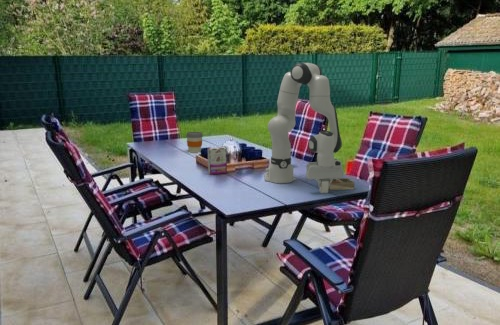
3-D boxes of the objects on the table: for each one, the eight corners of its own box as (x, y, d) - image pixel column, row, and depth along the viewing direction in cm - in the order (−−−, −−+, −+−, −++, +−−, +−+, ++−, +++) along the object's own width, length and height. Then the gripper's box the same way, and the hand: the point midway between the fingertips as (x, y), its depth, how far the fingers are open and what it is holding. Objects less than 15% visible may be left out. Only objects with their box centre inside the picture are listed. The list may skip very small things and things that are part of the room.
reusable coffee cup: (186, 150, 346) (186, 131, 343) (202, 150, 347) (202, 131, 344) (186, 153, 334) (185, 134, 330) (202, 153, 335) (202, 134, 332)
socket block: (324, 185, 249) (325, 178, 248) (347, 184, 252) (348, 177, 251) (330, 190, 241) (331, 182, 240) (354, 189, 243) (354, 181, 243)
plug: (319, 191, 239) (320, 177, 237) (325, 190, 239) (326, 176, 238) (321, 193, 235) (322, 178, 234) (328, 192, 236) (328, 178, 234)
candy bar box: (224, 171, 280) (224, 146, 276) (226, 173, 275) (226, 148, 271) (207, 173, 275) (207, 147, 272) (209, 175, 271) (209, 149, 267)
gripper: (308, 163, 229) (307, 188, 232) (345, 162, 233) (343, 187, 236) (304, 160, 235) (303, 185, 238) (340, 159, 239) (339, 184, 242)
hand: (323, 186), depth 237 cm, fingers closed on plug, 4 cm apart
